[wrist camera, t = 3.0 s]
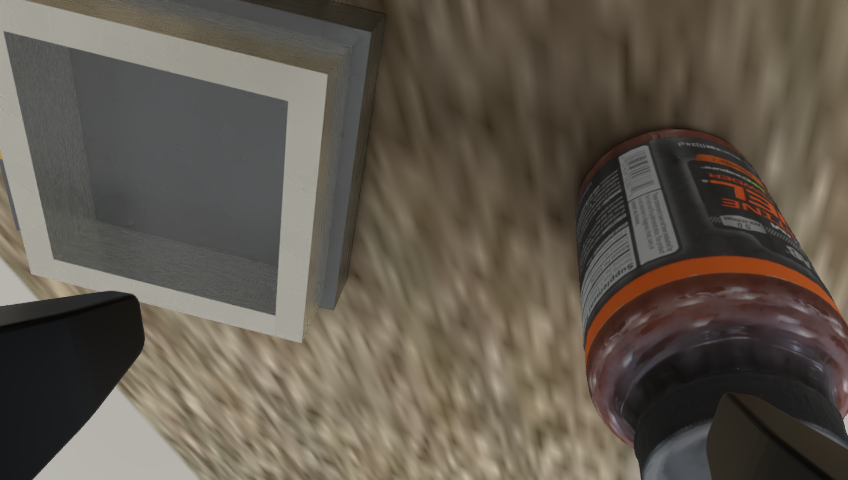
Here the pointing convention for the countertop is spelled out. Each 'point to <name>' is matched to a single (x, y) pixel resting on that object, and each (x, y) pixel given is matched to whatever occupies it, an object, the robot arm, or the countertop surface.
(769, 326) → the supplement bottle
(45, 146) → the plate
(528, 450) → the countertop surface
